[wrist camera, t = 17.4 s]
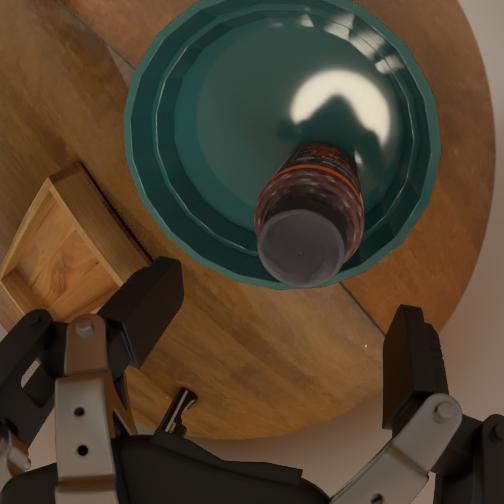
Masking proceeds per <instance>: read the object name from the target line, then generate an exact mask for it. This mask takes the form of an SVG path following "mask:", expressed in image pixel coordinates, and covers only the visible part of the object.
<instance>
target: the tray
mask: <svg viewBox="0 0 504 504" xmlns="http://www.w3.org/2000/svg"><path fill="white" fill-rule="evenodd" d="M151 264H152V262H151V261H150V260H149V259H148V257H147V256H146V255H145V253H144V252H143V251H142V250H141V248H140V247H139V246H138V244H137V243H136V242H135V240H134V239H133V238H132V236H131V235H130V234H129V232H128V231H127V230H126V228H125V227H124V225H123V224H122V223H121V221H120V220H119V219H118V217H117V216H116V214H115V213H114V212H113V210H112V209H111V208H110V206H109V205H108V203H107V202H106V201H105V199H104V198H103V196H102V195H101V193H100V192H99V191H98V189H97V188H96V186H95V185H94V183H93V182H92V180H91V179H90V177H89V176H88V174H87V173H86V171H85V170H84V168H83V167H82V165H81V164H80V162H79V163H77V164H73V165H71V166H69V167H67V168H65V169H63V170H60V171H58V172H56V173H54V174H52V175H51V176H49V177H47V179H46V181H45V182H44V184H43V185H42V187H41V189H40V190H39V192H38V194H37V195H36V197H35V199H34V201H33V202H32V204H31V206H30V208H29V210H28V212H27V213H26V215H25V217H24V219H23V221H22V223H21V225H20V227H19V229H18V231H17V233H16V235H15V237H14V239H13V241H12V243H11V246H10V248H9V250H8V252H7V254H6V256H5V259H4V261H3V263H2V266H1V268H0V283H1V285H2V286H3V288H4V289H5V291H6V292H7V293H8V295H9V296H10V297H11V299H12V300H13V302H14V303H15V304H16V306H17V307H18V308H19V310H20V311H21V312H22V313H23V315H25V314H27V313H28V312H30V311H32V310H35V309H45V310H47V311H49V313H50V314H51V317H52V319H53V321H56V322H66V323H70V322H71V321H72V320H73V319H75V318H76V317H78V316H80V315H83V314H87V313H93V314H96V313H97V312H98V311H99V309H100V308H101V307H102V306H103V305H104V304H105V303H106V302H107V301H108V300H109V299H110V298H111V296H112V295H113V294H114V293H115V292H116V291H117V290H118V289H120V287H121V286H122V285H123V284H124V283H126V280H127V279H128V278H129V277H130V276H131V275H132V274H133V273H134V272H136V271H138V270H140V269H141V268H143V267H145V266H147V267H149V266H150V265H151Z"/></svg>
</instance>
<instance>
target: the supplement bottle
mask: <svg viewBox="0 0 504 504" xmlns="http://www.w3.org/2000/svg"><path fill="white" fill-rule="evenodd" d="M364 222H365V220H364V208H363V199H362V191H361V183H360V177H359V172H358V169H357V167H356V165H355V163H354V161H353V159H352V158H351V157H350V156H349V154H348V153H346V152H345V151H344V150H343V149H341V148H340V147H338V146H336V145H334V144H331V143H327V142H310V143H307V144H304V145H301V146H300V147H298V148H297V149H296V150H294V151H293V152H292V153H291V154H290V155H289V156H288V157H287V158H286V160H285V161H284V162H283V164H282V165H281V166H280V167H279V169H278V170H277V171H276V173H275V174H274V175H273V176H272V178H271V179H270V180H269V182H268V183H267V184H266V186H265V187H264V189H263V190H262V192H261V194H260V196H259V198H258V199H257V202H256V205H255V211H254V227H255V232H256V235H257V238H258V242H257V249H258V253H259V257H260V260H261V262H262V264H263V265H264V267H265V268H266V269H267V270H268V272H269V273H270V274H271V275H272V276H274V277H275V278H276V279H278V280H279V281H281V282H283V283H285V284H288V285H291V286H296V287H303V288H304V287H313V286H318V285H321V284H323V283H325V282H327V281H329V280H330V279H332V278H333V277H334V276H335V275H336V274H337V273H338V271H339V270H340V268H341V266H342V264H343V263H344V262H346V261H347V260H348V259H349V258H350V257H351V256H352V255H353V254H354V252H355V251H356V250H357V248H358V246H359V244H360V242H361V240H362V236H363V232H364Z"/></svg>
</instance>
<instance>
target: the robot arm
mask: <svg viewBox="0 0 504 504" xmlns="http://www.w3.org/2000/svg"><path fill="white" fill-rule="evenodd" d="M183 298H184V288H183V279H182V269H181V263H180V261H179V260H176V259H172V258H167V257H163V256H159V257H158V258H157V259H156V260H155V261H154V262H153V263H152V264H151V265H150V266H149V267H147V266H145V267H143V268H141V269H140V270H138V271H136V272H134V273H133V274H132V275H131V276H130V277H129V278H128V279H127V280H126V283H124V284H123V285H122V286H121V287H120V289H118V290H117V291H116V292H115V293H114V294H113V295H112V296H111V298H110V299H109V300H108V301H107V302H106V303H105V304H104V305H103V306H102V307H101V308H100V309H99V311H98V312H97V313H96V314H93V313H87V314H83V315H80V316H78V317H76V318H75V319H73V320H72V321H71V322H70V323H66V322H56V321H53V319H52V317H51V314H50V313H49V311H47V310H45V309H35V310H32V311H30V312H28V313H27V314H25V315H24V316H23V317H22V318H21V320H20V321H19V322H18V323H17V324H16V325H15V326H14V327H13V328H12V330H11V331H10V332H9V333H8V334H7V335H6V336H5V338H4V339H3V340H2V341H1V342H0V504H411V502H412V501H413V500H414V499H415V498H416V496H417V495H418V494H419V493H420V491H421V490H422V489H423V487H424V486H425V485H426V483H427V482H428V480H429V476H428V473H429V471H431V472H434V473H436V478H435V490H434V500H433V504H504V416H502V415H499V414H493V415H491V416H489V417H488V418H487V419H485V420H484V421H483V422H482V421H479V420H476V419H474V418H471V417H468V416H466V415H464V414H462V410H461V407H460V405H459V403H458V402H457V401H456V400H455V399H454V398H453V397H451V396H450V395H449V391H448V384H447V379H446V372H445V367H444V361H443V359H442V357H443V356H442V351H441V349H440V348H441V346H440V342H439V336H438V334H437V332H436V331H435V329H434V328H433V326H432V325H431V324H428V323H425V322H424V318H423V313H422V309H421V308H420V307H415V306H409V305H403V304H401V305H400V306H399V307H398V309H397V312H396V314H395V316H394V319H393V321H392V323H391V325H390V327H389V330H388V332H387V334H386V337H385V340H384V344H383V422H382V429H388V430H392V438H391V439H390V440H389V441H388V443H387V444H386V445H385V446H384V447H383V448H382V449H381V450H380V451H379V452H378V453H377V454H376V455H375V456H374V457H373V458H372V459H371V461H370V462H368V463H367V465H366V466H364V468H363V469H361V470H360V471H359V472H358V473H357V474H356V475H355V476H354V477H353V478H352V479H351V480H350V481H348V482H347V483H346V484H345V485H344V486H343V487H342V488H340V489H339V490H338V491H337V492H336V493H335V494H333V495H332V496H331V497H329V496H328V495H327V494H326V493H325V492H324V491H323V490H322V489H320V488H319V487H317V486H316V485H315V484H313V483H311V482H310V481H308V480H306V479H304V478H301V476H302V472H303V470H302V469H296V468H291V467H286V466H281V465H276V464H272V463H267V462H239V461H225V460H222V459H220V458H218V457H216V456H215V455H213V454H211V453H210V452H208V451H206V450H204V449H203V448H201V447H200V446H198V445H197V444H195V443H194V442H192V441H190V440H188V439H185V438H182V437H180V436H177V435H174V434H172V433H169V432H167V431H164V430H161V429H159V428H157V429H156V431H155V433H154V435H142V434H141V435H138V432H137V429H136V426H135V423H134V421H133V417H132V413H131V407H130V401H129V395H128V389H127V382H126V375H125V372H124V370H125V369H126V367H127V366H128V365H130V366H133V367H135V368H137V369H139V368H140V367H141V365H142V364H143V362H144V361H145V359H146V358H147V356H148V355H149V353H150V352H151V350H152V349H153V347H154V346H155V344H156V343H157V341H158V340H159V338H160V337H161V335H162V334H163V332H164V331H165V329H166V328H167V326H168V325H169V324H170V322H171V321H172V319H173V318H174V316H175V315H176V313H177V312H178V310H179V309H180V307H181V305H182V302H183ZM36 358H37V360H38V362H39V363H40V365H39V367H38V368H37V369H36V371H35V372H34V373H33V375H32V376H31V377H30V379H29V380H28V382H27V383H26V384H25V386H24V387H23V388H22V387H21V379H22V376H23V375H24V374H25V372H26V371H27V370H28V368H29V367H30V366H31V364H32V363H33V362H34V361H35V359H36ZM54 406H55V444H56V459H57V462H56V463H53V464H50V465H47V466H43V467H40V468H37V469H34V470H31V471H27V472H25V470H28V469H29V468H30V467H31V461H30V459H29V458H28V448H29V447H30V445H31V443H32V441H33V440H34V438H35V436H36V435H37V433H38V432H39V430H40V428H41V427H42V425H43V423H44V422H45V420H46V419H47V417H48V416H49V414H50V412H51V411H52V409H53V408H54Z"/></svg>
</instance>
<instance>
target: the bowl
mask: <svg viewBox="0 0 504 504" xmlns="http://www.w3.org/2000/svg"><path fill="white" fill-rule="evenodd" d="M123 127H124V141H125V154H126V160H127V164H128V167H129V170H130V172H131V175H132V178H133V181H134V183H135V186H136V189H137V191H138V194H139V197H140V199H141V201H142V203H143V204H144V206H145V207H146V209H147V210H148V211H149V213H150V214H151V216H152V217H153V218H154V220H155V221H156V223H157V224H158V225H159V227H160V228H161V230H162V231H163V232H164V234H165V235H166V236H167V237H168V238H169V239H170V240H172V241H173V242H174V243H175V244H176V245H177V246H179V247H180V248H181V249H182V250H183V251H185V252H186V253H187V254H188V255H189V256H190V257H192V258H193V259H194V260H195V261H196V262H198V263H200V264H202V265H204V266H206V267H208V268H210V269H212V270H214V271H216V272H218V273H220V274H222V275H224V276H226V277H228V278H230V279H232V280H234V281H237V282H242V283H247V284H251V285H256V286H261V287H266V288H271V289H276V290H289V289H305V288H320V287H325V286H328V285H331V284H334V283H336V282H339V281H342V280H345V279H348V278H350V277H353V276H356V275H359V274H361V273H364V272H366V271H367V270H369V269H370V268H371V267H373V266H374V265H375V264H377V263H378V262H379V261H381V260H382V259H383V258H385V257H386V256H387V255H389V254H390V253H391V252H392V251H394V250H395V249H396V248H398V247H399V246H400V245H401V244H402V243H403V242H404V240H405V239H406V237H407V236H408V234H409V233H410V231H411V230H412V228H413V227H414V225H415V224H416V222H417V221H418V219H419V218H420V216H421V215H422V213H423V212H424V210H425V209H426V207H427V205H428V204H429V203H428V202H430V198H431V194H432V190H433V186H434V182H435V178H436V174H437V170H438V165H439V161H440V156H441V141H440V132H439V124H438V117H437V110H436V103H435V98H434V95H433V93H432V91H431V89H430V87H429V85H428V83H427V81H426V79H425V77H424V75H423V73H422V71H421V69H420V67H419V66H418V64H417V62H416V60H415V58H414V57H413V55H412V53H411V52H410V50H409V48H408V46H407V45H406V44H405V43H404V42H403V41H402V40H401V39H400V38H399V37H398V36H396V35H395V34H394V33H393V32H392V31H391V30H390V29H389V28H388V27H386V26H385V25H384V24H383V23H382V22H381V21H380V20H378V19H377V18H376V17H375V16H374V15H372V14H371V13H370V12H369V11H367V10H366V9H365V8H364V7H362V6H360V5H359V4H357V3H354V2H352V1H350V0H200V1H198V2H196V3H194V4H193V5H192V6H190V7H189V8H188V9H187V10H185V11H184V12H183V13H182V14H180V15H179V16H178V17H177V18H175V19H174V20H173V21H172V22H171V23H170V24H168V25H167V26H166V27H165V28H164V29H163V30H161V31H160V32H159V33H158V35H157V36H156V37H155V39H154V40H153V42H152V44H151V45H150V47H149V48H148V50H147V51H146V53H145V55H144V56H143V58H142V60H141V61H140V63H139V65H138V67H137V68H136V70H135V72H134V74H133V76H132V80H131V84H130V88H129V92H128V97H127V101H126V105H125V110H124V115H123ZM310 142H327V143H331V144H334V145H336V146H338V147H340V148H341V149H343V150H344V151H345V152H346V153H348V154H349V156H350V157H351V158H352V159H353V161H354V163H355V165H356V167H357V169H358V172H359V177H360V183H361V191H362V199H363V208H364V220H365V222H364V232H363V236H362V240H361V242H360V244H359V246H358V248H357V250H356V251H355V252H354V254H353V255H352V256H351V257H350V258H349V259H348V260H347V261H346V262H344V263H343V264H342V266H341V268H340V270H339V271H338V273H337V274H336V275H335V276H334V277H333V278H332V279H330V280H329V281H327V282H325V283H323V284H321V285H318V286H313V287H304V288H303V287H296V286H291V285H288V284H285V283H283V282H281V281H279V280H278V279H276V278H275V277H274V276H272V275H271V274H270V273H269V272H268V270H267V269H266V268H265V267H264V265H263V264H262V262H261V260H260V257H259V253H258V249H257V242H258V238H257V235H256V232H255V227H254V211H255V205H256V202H257V199H258V198H259V196H260V194H261V192H262V190H263V189H264V187H265V186H266V184H267V183H268V182H269V180H270V179H271V178H272V176H273V175H274V174H275V173H276V171H277V170H278V169H279V167H280V166H281V165H282V164H283V162H284V161H285V160H286V158H287V157H288V156H289V155H290V154H291V153H292V152H293V151H294V150H296V149H297V148H298V147H300V146H301V145H304V144H307V143H310Z"/></svg>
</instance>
